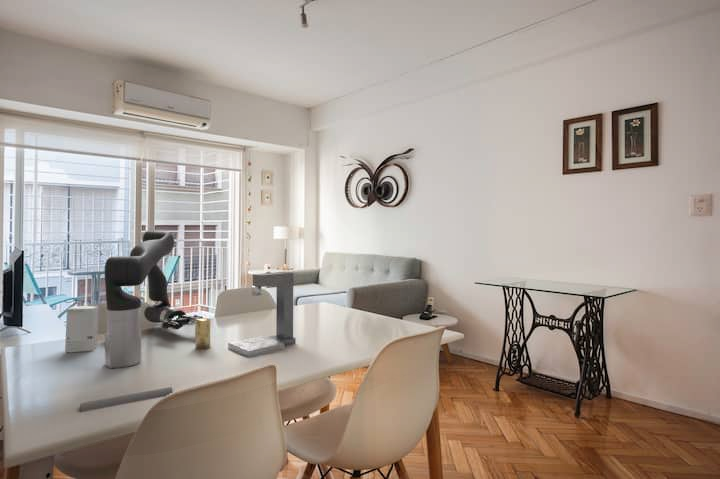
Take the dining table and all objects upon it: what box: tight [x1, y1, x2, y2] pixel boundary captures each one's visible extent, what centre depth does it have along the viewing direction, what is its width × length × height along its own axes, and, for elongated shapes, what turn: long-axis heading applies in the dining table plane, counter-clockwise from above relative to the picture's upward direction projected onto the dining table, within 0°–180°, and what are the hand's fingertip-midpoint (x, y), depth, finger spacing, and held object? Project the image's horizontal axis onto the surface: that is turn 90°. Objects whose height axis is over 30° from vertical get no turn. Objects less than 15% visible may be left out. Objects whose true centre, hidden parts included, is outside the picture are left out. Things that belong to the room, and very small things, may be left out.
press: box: [227, 271, 297, 358], centre depth 150 cm, size 21×20×26 cm
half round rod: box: [79, 386, 173, 413], centre depth 101 cm, size 4×20×2 cm, turn 122°
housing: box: [194, 317, 211, 351], centre depth 146 cm, size 5×5×10 cm
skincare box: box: [64, 305, 99, 353], centre depth 143 cm, size 8×6×15 cm
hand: (189, 324), depth 154 cm, fingers open, 8 cm apart
